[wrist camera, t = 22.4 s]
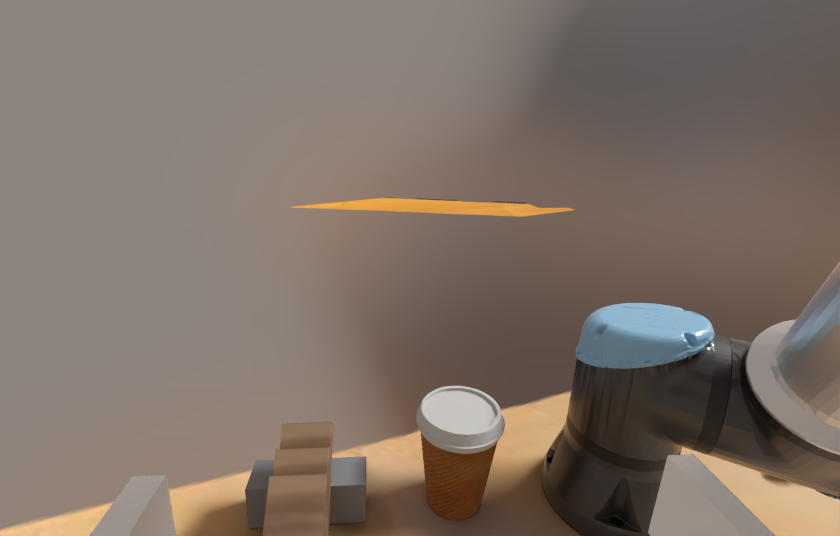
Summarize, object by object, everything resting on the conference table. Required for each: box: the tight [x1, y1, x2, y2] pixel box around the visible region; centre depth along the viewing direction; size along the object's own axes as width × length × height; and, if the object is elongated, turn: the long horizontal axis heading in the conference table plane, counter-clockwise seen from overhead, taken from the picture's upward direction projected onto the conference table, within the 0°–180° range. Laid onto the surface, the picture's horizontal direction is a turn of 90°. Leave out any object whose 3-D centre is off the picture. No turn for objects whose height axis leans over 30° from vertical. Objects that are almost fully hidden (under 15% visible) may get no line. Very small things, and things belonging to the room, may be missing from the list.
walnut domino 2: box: [273, 447, 330, 536], centre depth 39 cm, size 2×5×12 cm
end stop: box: [245, 457, 366, 528], centre depth 45 cm, size 4×12×5 cm, turn 95°
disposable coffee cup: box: [416, 386, 505, 520], centre depth 47 cm, size 10×10×12 cm
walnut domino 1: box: [280, 422, 333, 536], centre depth 42 cm, size 2×5×12 cm
